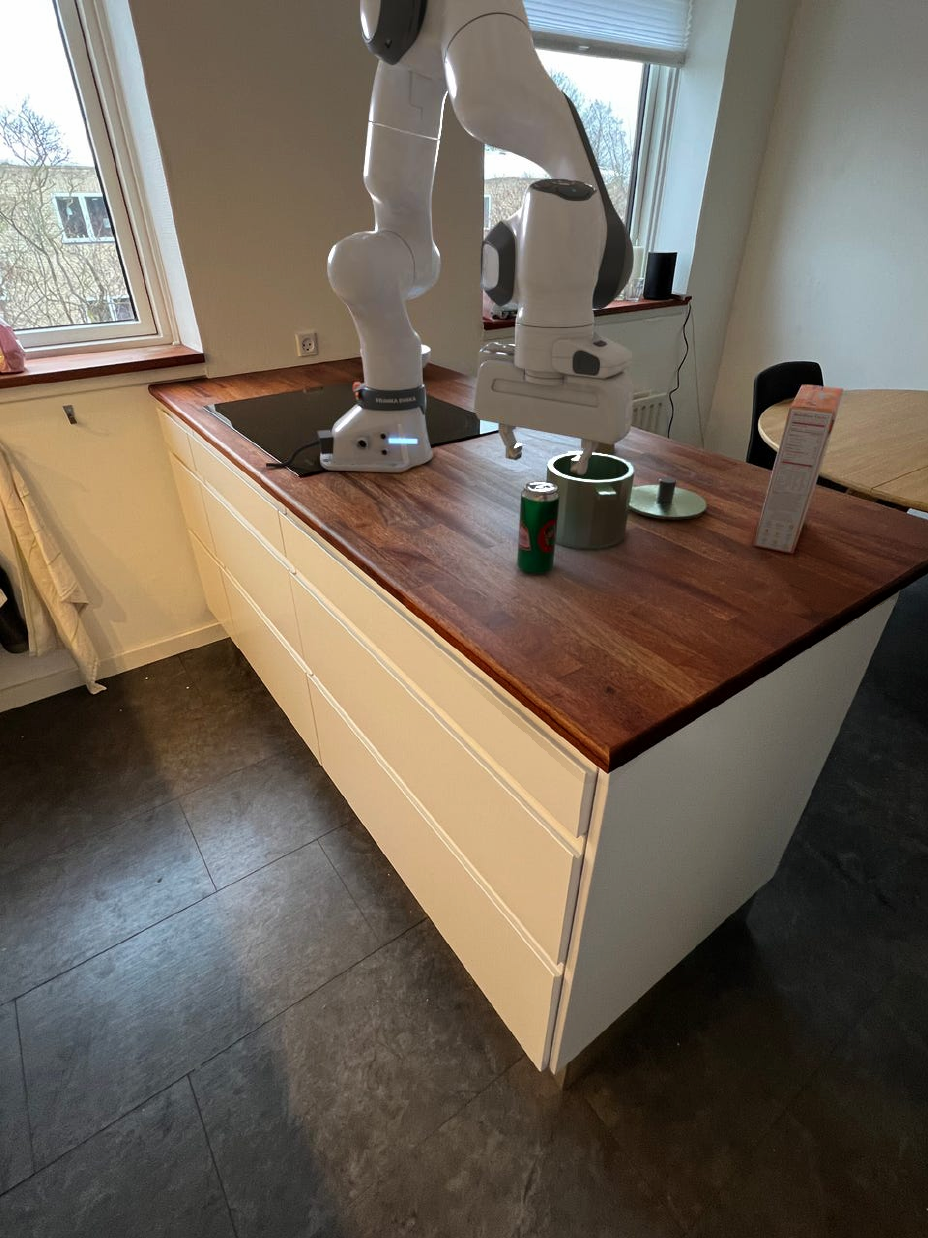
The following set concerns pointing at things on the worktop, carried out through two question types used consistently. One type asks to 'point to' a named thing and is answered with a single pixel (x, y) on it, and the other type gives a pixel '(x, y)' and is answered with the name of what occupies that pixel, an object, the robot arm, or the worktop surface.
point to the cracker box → (797, 466)
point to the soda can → (537, 527)
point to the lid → (666, 501)
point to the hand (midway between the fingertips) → (545, 465)
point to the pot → (591, 500)
